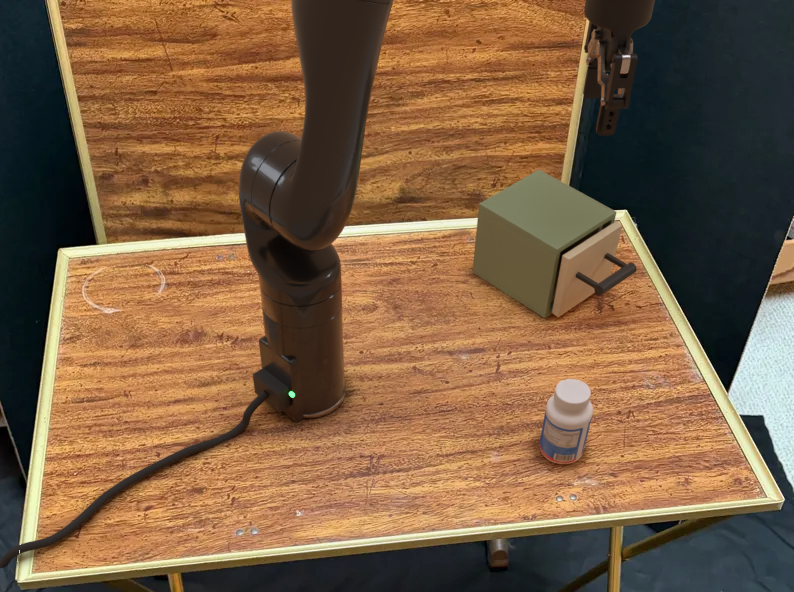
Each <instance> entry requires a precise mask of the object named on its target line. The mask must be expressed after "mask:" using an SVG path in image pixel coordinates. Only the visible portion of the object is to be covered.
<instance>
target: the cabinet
mask: <svg viewBox="0 0 794 592" xmlns="http://www.w3.org/2000/svg"><path fill="white" fill-rule="evenodd" d="M616 216H617V211H616V210H614V209H612V208H610V207H608V206H606V205H605V204H603V203H602V202H599V201H598V200H597V199H594V198H592V197H590V196H588V195H587V194H585V193H583V192H581V191H579V190H578V189H576V188H574V187H572V186H570V185H568V184H566V183H565V182H563V181H561V180H559V179H558V178H556V177H554V176H552V175H550V174H548V173H546V172H544V171H543V170H541V169H537V170H536V171H534V172H532V173H530V174H528V175H526V176H524V177H523V178H521V179H520V180H518V181H516V182H514V183H513V184H511V185H509V186H507V187H506V188H504V189H502V190H500V191H499V192H497V193H495V194H493V195H492V196H489V197H488V198H486V199H485V200H483V201H481V202H479V203H478V211H477V222H476V233H475V243H474V252H473V262H472V274H474V275H475V276H477V277H479V278H480V279H482V280H483V281H485V282H487V283H488V284H490V285H491V286H493V287H495V288H496V289H497V290H499V291H501V292H502V293H504V294H505V295H507V296H509V297H510V298H512V299H513V300H515V301H517V302H518V303H520V304H521V305H523V306H525V307H526V308H527V309H529V310H531V311H532V312H534V313H535V314H538V316H540V317H542V318H543V319H547V318H548V317H549V316H551V315H553V314H552V310H553V304H554V301H552V302H551V300H552V294H553V289H554V283H555V278H556V272H557V267H558V261H559V256H560V252H561V251H563V250H564V249H566V248H567V247H569V246H570V245H572V244H574V243H575V242H577V241H578V240H580V239H581V238H583V237H585V236H586V235H588V234H589V233H591V232H593V231H594V230H596V229H597V228H599V227H600V226H602V225H603V227H602V230H603V229H605V228H606V227H608V226H609V225H611V224H612V223H614V222H616V221H615V220H616Z"/></svg>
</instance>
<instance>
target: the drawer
mask: <svg viewBox="0 0 794 592" xmlns="http://www.w3.org/2000/svg"><path fill="white" fill-rule="evenodd" d="M602 227H603V225H602V226H600V227H599V228H597V229H596V230H594V231H593V232H591V233H589V234H588V235H586V236H585V237H583V238H581V239H580V240H578V241H577V242H575V243H574V244H572V245H570V246H569V247H567V248H566V249H564V250H563V251H561V252H560V256H559V261H558V267H557V272H556V278H555V283H554V289H553V294H552V300H551V302H552V301H554V304H553V310H552V314H551V315H554V316H556V317H557V318H560V317H561V316H562V315H564V314H566V313H567V312H568V311H570V310H571V309H573V308H574V307H576V306H577V305H578V304H580V303H581V302H584V301H585V300H586V299H588V298H589V297H590V296H592V295H593V294H596V295H597V296H603V295H604V294H606V293H607V292H609V291H610V290H613V288H615V287H616V286H618V285H619V284H621V283H622V282H623V281H625V280H626V279H628V278H629V277H631V276H632V275H634V274H635V273H637V271H638V270H637V269H638V268H637V265H636V264H635V263H634V262H632V261H631V262H630V261H629V262H628V263H626V262H624V261H623V260H621V259H619V258H618V257H616V256H617V251H618V247H619V242H620V237H621V234H622V229H623V224H621V223H619V222H618V221H614V223H612V224H611V225H609V226H608V227H606V228H605V229H603V230H602ZM614 265H616V266H617V267H619V269H618V270H616V271H615V272H613V267H614ZM612 272H613V273H612Z"/></svg>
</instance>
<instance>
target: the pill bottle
mask: <svg viewBox="0 0 794 592" xmlns="http://www.w3.org/2000/svg"><path fill="white" fill-rule="evenodd" d="M591 393H592V391H591V388H590V386H589V385H588V384H587V383H585V382H584V381H582V380H579V379H576V378H567V379H563V380H561V381H559V382H558V383H557V384H556V386H555V389H554V393H553V394H552V396H550V398H549V399H548V400H547V403H546V406H545V410H544V416H543V421H542V426H541V432H540V438H539V450H540V453H541V454H542V456H543V457H544V458H545V459H546V460H548V461H549V462H550V463H551V462H552V463H554V464H558V465H569V464H570V465H571V464H573V463H576V462H577V461H578V460H580V459H581V458H582V456H583V454H584V452H585V448H586V444H587V441H588V436H589V432H590V427H591V423H592V418H593V414H594V406H593V403H592V402H591Z"/></svg>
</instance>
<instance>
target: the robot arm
mask: <svg viewBox="0 0 794 592" xmlns="http://www.w3.org/2000/svg"><path fill="white" fill-rule="evenodd" d="M655 1H656V0H585V2H584V6H583V7H584V8H583V12H584V16H585V18H586V19H587V21H588V26H587V32H586V38H585V42H584V46H583V50H584V53H585V54H587V55H586V58H585V65H586V66H587V67H586V72H585V78H584V83H583V90H582V94H583V97H584V99H600V105H599V110H598V115H597V121H596V126H595V131H596V134H597V136H599V137H601V136H602V137H603V136H613V135H615V133H616V129H617V125H618V119H619V115H620V111H621V109H628V108H629V106H630V101H631V100H630V99H631V95H632V90H633V85H634V79H635V74H636V70H637V65H638V60H639V56H638V53H634V40H633V39H632V34H633V33H634V32H635V31H636V30H637V31H638V29H641V28H643V27H645V26H647V25H648V23H650V21H651V19H652V16H653V11H654V6H655ZM290 2H291V3H290V5H291V14H292V23H293V29H294V35H295V42H296V47H297V51H298V57H299V63H300V68H301V69H300V70H301V74H302V80H303V90H304V118H303V125H302V132H301V137H300V136H298V135H297V134H295V133H293V132H289V131H283V130H279V131H276V130H275V131H272V132H269V133H266V134H264V135H263V136H261V137H260V138H258V139H257V140H256V141H255V142H254V143H253V144H252V145H251V146H250V147H249V149H248V151H247V153H246V154H245V156H244V157H243V158H244V159H243V161H242V164H241V167H240V171H239V177H238V199H239V207H240V215H241V219H242V226H243V232H244V238H245V244H246V249H247V253H248V257H249V259H250V262H251V265H252V266H253V269H254V270H255V272H256V275H257V278H258V284H259V292H260V300H261V310H262V318H263V319H262V320H263V329H264V335H263V336H261V337H259V338H258V347H259V348H258V349H259V355H260V363H261V368H260V369H258V370H257V371H255V372H254V373H252V380H253V387H254V393H255V394H256V395H257V396H256V397H255V398H254V399H253V400H252V401H251V402H250V403H249V405H248V406H247V407H246V409H244V412H243V415H242V418H241V420H240V422H239V423H238V424H237V425H236V426H234V427H233V428H232V429H230V430H228V431H227V432H226V433H224V434H221V435H219V436H217V437H214V438H211V439H208V440H205V441H201V442H198V443H195V444H192V445H189V446H187V447H184V448H182V449H180V450H178V451H176V452H174V453H172V454H170V455H167V456H166V457H163V458H162V459H160V460H159V459H158V461H155V462H153V463H152V464H149V465H147V466H145V467H144V468H141V469H140V470H138V471H136V472H134V473H133V474H131V475H129V476H127V477H125V478H124V479H122V480H121V481H120V482H118V483H115V484H114V485H113V486H111V487H110V488H109V489H107V490H106V491H105V492H104V493H102V494H101V495H99V497H97V498H96V499H95V500H93V501H92V503H90V504H89V505H88V506H87V507H86V508H85V509H84V510H83V511H81V513H80V514H79V515H78V516H77V517H76V518H74V519H73V520H72V521H70V522H69V523H68V524H67V525H65V526H64V527H63V528H61V529H59V530H58V531H56V532H55V533H52V534H51V535H49V536H46V537H44V538H40V539H36V540H32V541H27V542H24V543H20V544H21V545H20V544H17V545H15V546H13V547H12V548H9V550H7V551H6V552H5V553H4V554H3V556H2V557H1V558H0V569H4V568H6V567H7V566H8V565H9V564H10V563H11V561H13V559H14V558H16V557H17V556H20V555H22V554H24V553H28V552H31V551H36V550H39V549H45V548H47V547H50V546H53V545H55V544H57V543H59V542H60V541H62V540H64V539H66V537H69V536H70V535H72V534H73V533H74V532H75V531H77V530H78V529H79V528H81V526H82V525H84V523H86V522H87V521H88V520H89V519H90V518H91V517H92V516H93V515H94V514H95V513H96V512H97V511H98V510H99V509H101V507H103V506H104V505H105V504H106V503H107V502H109V501H110V500H111V499H113V498H115V496H117V495H118V494H120V493H121V492H123V491H124V490H126V489H128V488H129V487H131V486H132V485H134V484H136V483H137V482H139V481H141V480H143V479H144V478H146V477H149V476H151V475H152V474H154V473H156V472H158V471H160V470H162V469H164V468H166V467H168V466H170V465H172V464H174V463H176V462H178V461H180V460H182V459H184V458H187V457H188V456H191V455H194V454H196V453H200V452H203V451H206V450H209V449H211V448H214V447H215V446H218V445H220V444H222V443H225V442H228V441H230V440H232V439H234V438H236V437H237V436H239V435H241V434H242V433H243V432H244V431H245V430H246V429H247V428H248V427H249V426H250V422H251V418H252V416H253V414H254V413H255V412H256V410H257V409H258V408H259V407H260V406H261V405H262V404H263V403H264V402H266V403H267V404H268V405H269V406H271V407H272V408H273V409H274V410H275V411H276V412H278V413H284V414H285V415H286V416H287V417H288V418H290V419H291V420H292V421H294V422H295V423H298V422H300V421H301V420H303V419H314V418H321V417H323V416H326V415H329V414H330V413H332V412H334V411H335V410H337V409H338V408H339V407H340V406H341V405H342V403H343V402H344V400H345V397H346V393H347V391H346V390H347V388H346V381H345V357H344V356H345V351H344V350H345V349H344V321H343V320H344V319H343V318H344V317H343V285H342V284H343V281H342V264H341V260H340V256H339V254H338V251H337V250H336V248H335V246H334V245H333V243H334V242H335V241H336V240H337V239H338V238H339V236H340V235H341V234H342V232H343V230H344V229H345V227H346V226H347V224H348V221H349V219H350V216H351V213H352V211H353V207H354V204H355V201H356V195H357V191H358V190H357V189H358V184H359V176H360V169H361V165H362V164H361V163H362V155H363V148H364V142H365V141H364V140H365V133H366V128H367V127H366V126H367V120H368V115H369V108H370V104H371V98H372V93H373V88H374V84H375V79H376V75H377V70H378V64H379V60H380V55H381V51H382V47H383V42H384V37H385V34H386V29H387V25H388V22H389V18H390V15H391V12H392V8H393V4H394V0H290ZM607 73H610V74H607ZM615 90H617V93H615ZM19 550H20V554H19Z"/></svg>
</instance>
